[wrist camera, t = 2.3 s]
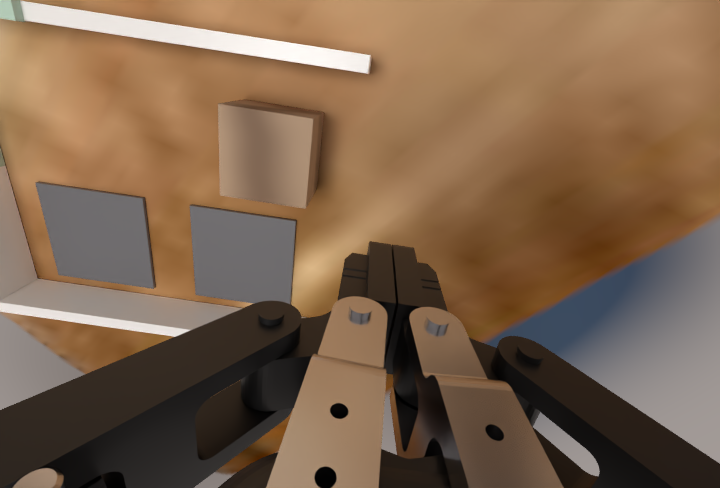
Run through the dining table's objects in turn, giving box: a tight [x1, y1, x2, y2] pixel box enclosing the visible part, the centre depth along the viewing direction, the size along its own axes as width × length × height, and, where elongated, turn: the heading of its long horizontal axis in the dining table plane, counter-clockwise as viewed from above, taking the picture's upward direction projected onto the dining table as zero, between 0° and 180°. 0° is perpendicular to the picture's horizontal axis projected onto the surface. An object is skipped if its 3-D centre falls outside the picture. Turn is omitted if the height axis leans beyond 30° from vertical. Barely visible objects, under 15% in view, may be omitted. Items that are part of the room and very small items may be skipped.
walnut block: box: [218, 100, 324, 209], centre depth 26 cm, size 6×6×5 cm
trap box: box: [0, 0, 372, 337], centre depth 28 cm, size 30×24×5 cm
